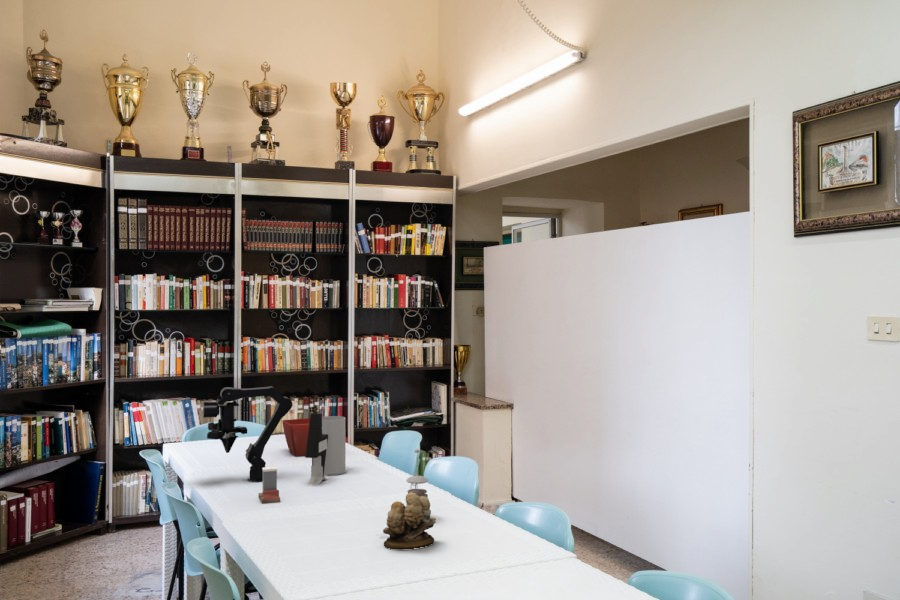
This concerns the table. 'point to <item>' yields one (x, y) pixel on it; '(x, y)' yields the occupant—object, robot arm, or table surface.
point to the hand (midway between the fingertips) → (227, 452)
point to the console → (269, 496)
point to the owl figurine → (409, 523)
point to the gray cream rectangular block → (269, 478)
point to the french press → (417, 482)
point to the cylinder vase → (334, 444)
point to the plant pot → (296, 435)
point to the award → (316, 449)
